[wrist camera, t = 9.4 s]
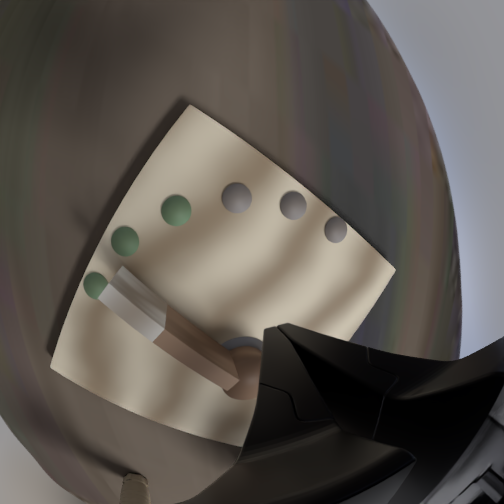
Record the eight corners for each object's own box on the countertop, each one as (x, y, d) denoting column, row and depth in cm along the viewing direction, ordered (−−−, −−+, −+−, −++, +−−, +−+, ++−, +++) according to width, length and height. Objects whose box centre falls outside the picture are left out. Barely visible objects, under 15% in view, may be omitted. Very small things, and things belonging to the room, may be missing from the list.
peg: (276, 361, 21) (292, 390, 18) (242, 391, 21) (253, 422, 18) (136, 249, 17) (123, 264, 13) (102, 290, 17) (85, 314, 13)
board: (387, 266, 24) (396, 270, 23) (248, 441, 25) (251, 449, 24) (189, 109, 17) (190, 103, 16) (54, 360, 18) (49, 368, 17)
